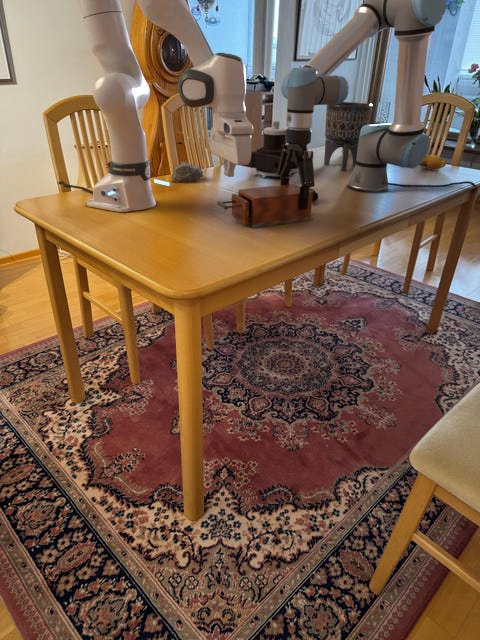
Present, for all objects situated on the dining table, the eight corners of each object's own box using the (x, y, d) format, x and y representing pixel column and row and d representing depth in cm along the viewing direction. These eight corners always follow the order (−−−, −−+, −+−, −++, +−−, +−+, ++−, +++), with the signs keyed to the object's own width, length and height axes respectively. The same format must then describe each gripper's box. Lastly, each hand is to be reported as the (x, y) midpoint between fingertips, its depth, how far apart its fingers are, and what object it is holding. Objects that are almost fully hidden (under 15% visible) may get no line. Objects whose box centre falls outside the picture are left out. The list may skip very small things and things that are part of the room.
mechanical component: (240, 120, 182) (283, 115, 202) (239, 174, 192) (280, 164, 212) (283, 126, 170) (325, 120, 190) (280, 183, 180) (320, 171, 200)
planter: (313, 167, 208) (319, 103, 195) (331, 160, 222) (338, 101, 209) (353, 173, 199) (362, 107, 185) (369, 166, 213) (379, 104, 199)
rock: (196, 175, 189) (195, 159, 185) (208, 179, 183) (208, 163, 180) (168, 180, 181) (167, 163, 178) (181, 184, 176) (180, 167, 172)
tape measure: (298, 204, 156) (299, 193, 154) (293, 198, 161) (294, 187, 159) (317, 203, 156) (319, 192, 155) (312, 198, 162) (313, 187, 160)
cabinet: (252, 227, 134) (253, 198, 129) (237, 217, 142) (238, 189, 138) (310, 219, 141) (313, 191, 137) (292, 210, 149) (294, 183, 145)
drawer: (226, 227, 131) (227, 204, 127) (214, 217, 138) (214, 195, 135) (299, 217, 140) (301, 195, 136) (284, 209, 147) (285, 188, 144)
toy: (420, 162, 205) (414, 155, 217) (422, 176, 207) (416, 168, 220) (446, 154, 201) (438, 147, 214) (448, 168, 204) (440, 161, 217)
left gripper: (204, 119, 128) (205, 169, 135) (233, 128, 113) (233, 184, 119) (224, 118, 131) (224, 167, 138) (256, 127, 115) (254, 182, 122)
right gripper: (268, 123, 139) (264, 195, 150) (309, 134, 120) (302, 215, 132) (289, 123, 141) (284, 193, 152) (333, 133, 123) (323, 213, 134)
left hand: (229, 175), depth 128 cm, fingers closed
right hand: (292, 204), depth 142 cm, fingers closed on cabinet, 11 cm apart
